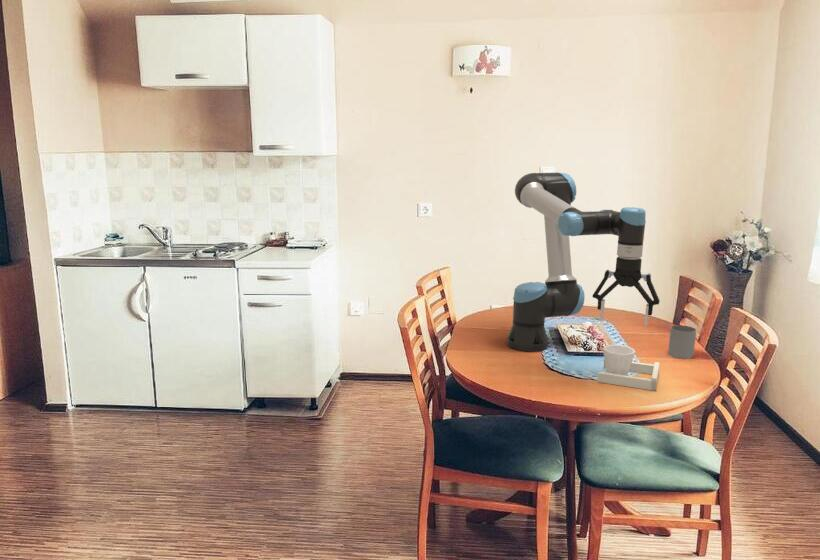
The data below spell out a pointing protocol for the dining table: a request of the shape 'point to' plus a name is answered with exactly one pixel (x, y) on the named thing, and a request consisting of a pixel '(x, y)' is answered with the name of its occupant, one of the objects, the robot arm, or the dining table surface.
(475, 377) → the dining table surface
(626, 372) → the cup
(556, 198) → the robot arm
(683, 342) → the cup
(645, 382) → the bracket
